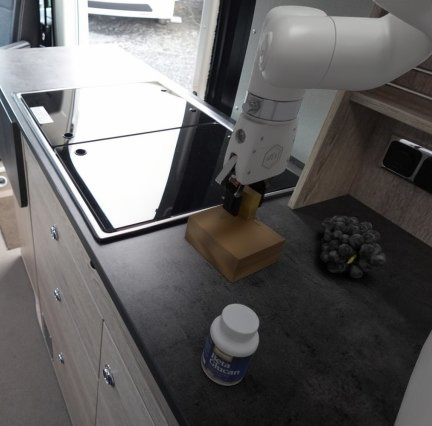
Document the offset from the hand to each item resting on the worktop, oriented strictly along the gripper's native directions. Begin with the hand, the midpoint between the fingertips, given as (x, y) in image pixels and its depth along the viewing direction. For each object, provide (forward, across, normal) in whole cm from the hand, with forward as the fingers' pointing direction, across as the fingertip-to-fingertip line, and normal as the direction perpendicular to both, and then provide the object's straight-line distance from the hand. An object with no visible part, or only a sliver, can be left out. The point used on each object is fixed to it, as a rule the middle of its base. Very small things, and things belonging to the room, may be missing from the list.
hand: (241, 206), depth 64 cm
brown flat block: (+6, -2, -2) cm, 7 cm away
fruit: (+6, +12, -13) cm, 19 cm away
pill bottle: (+6, -20, -19) cm, 28 cm away
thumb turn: (+1, 0, 0) cm, 1 cm away
